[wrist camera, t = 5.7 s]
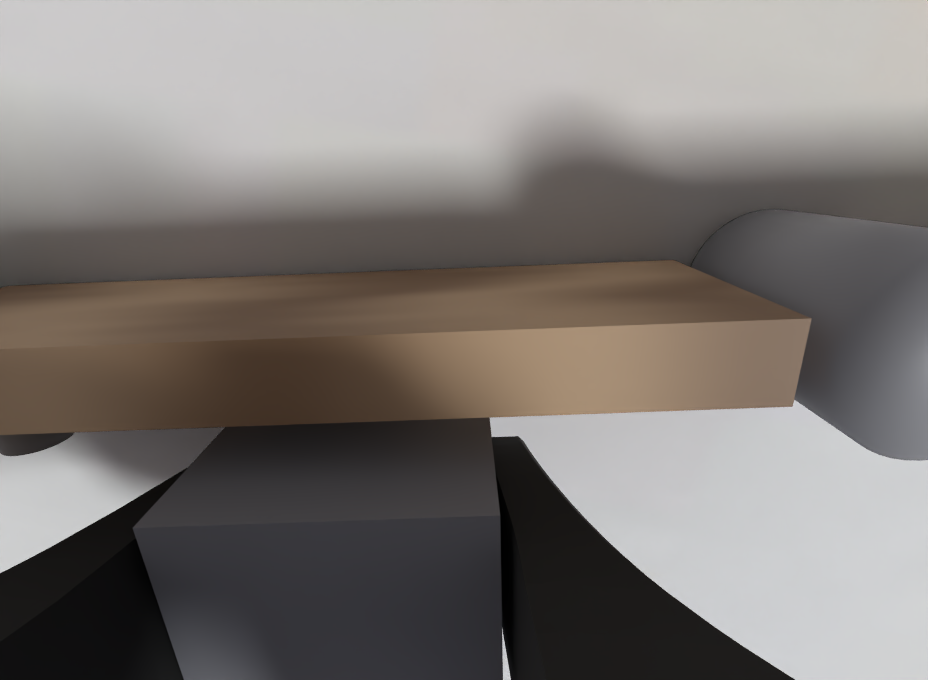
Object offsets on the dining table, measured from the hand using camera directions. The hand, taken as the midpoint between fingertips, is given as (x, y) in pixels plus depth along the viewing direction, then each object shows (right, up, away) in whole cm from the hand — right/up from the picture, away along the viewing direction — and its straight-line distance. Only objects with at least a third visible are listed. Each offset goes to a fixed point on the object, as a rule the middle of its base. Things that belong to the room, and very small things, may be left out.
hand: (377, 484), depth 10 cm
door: (-1, +3, 0) cm, 3 cm away
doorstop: (0, 0, +2) cm, 2 cm away
